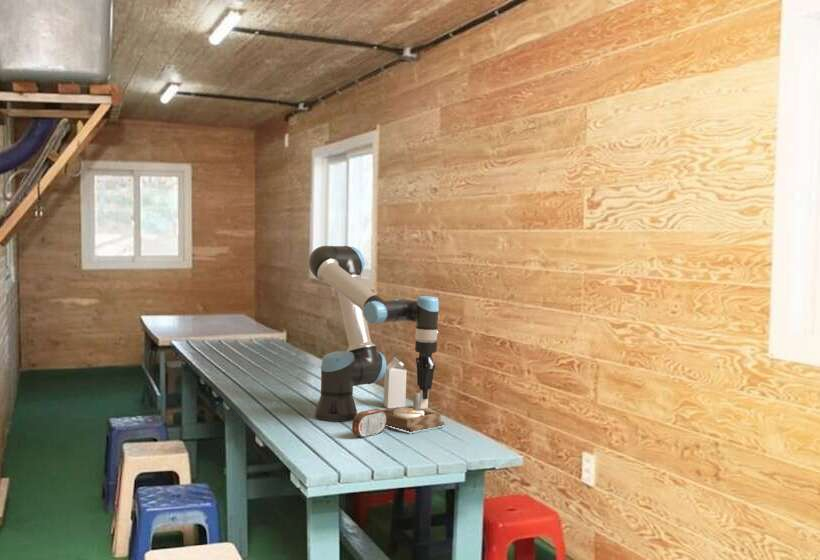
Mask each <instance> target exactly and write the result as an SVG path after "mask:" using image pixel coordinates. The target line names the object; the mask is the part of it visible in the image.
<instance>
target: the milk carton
mask: <svg viewBox="0 0 820 560" xmlns="http://www.w3.org/2000/svg"><path fill="white" fill-rule="evenodd" d="M404 365H405V364H404V363H403V362H402V361H401V360H400V361H399V359H397V358H396V357H394V356H393V360H391V361H390V362H389V363H388V364H386V372H385V374H384V376H383V378H384V379H383V380H384V381H383V384H384V385H383V406H384V407H385V408H387V409H392V408H396V407H404V406H406V399H407V397H406V395H407V393H406V392H407V368H405V367H404Z"/></svg>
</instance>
